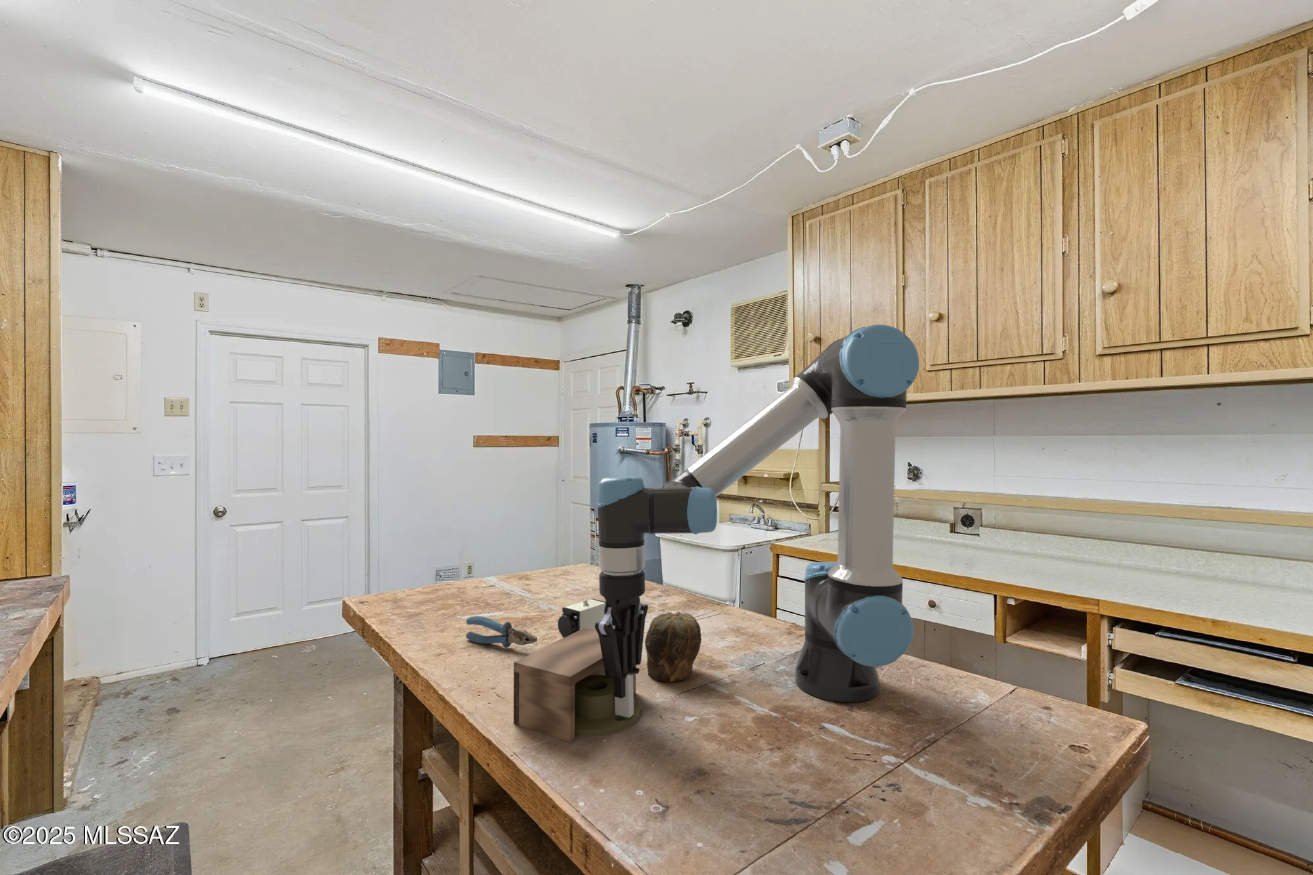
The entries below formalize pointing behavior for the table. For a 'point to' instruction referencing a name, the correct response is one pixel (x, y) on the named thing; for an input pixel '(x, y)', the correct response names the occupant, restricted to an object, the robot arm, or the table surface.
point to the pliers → (506, 630)
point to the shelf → (555, 683)
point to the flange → (599, 707)
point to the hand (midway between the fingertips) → (624, 714)
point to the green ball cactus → (672, 646)
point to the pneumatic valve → (580, 616)
